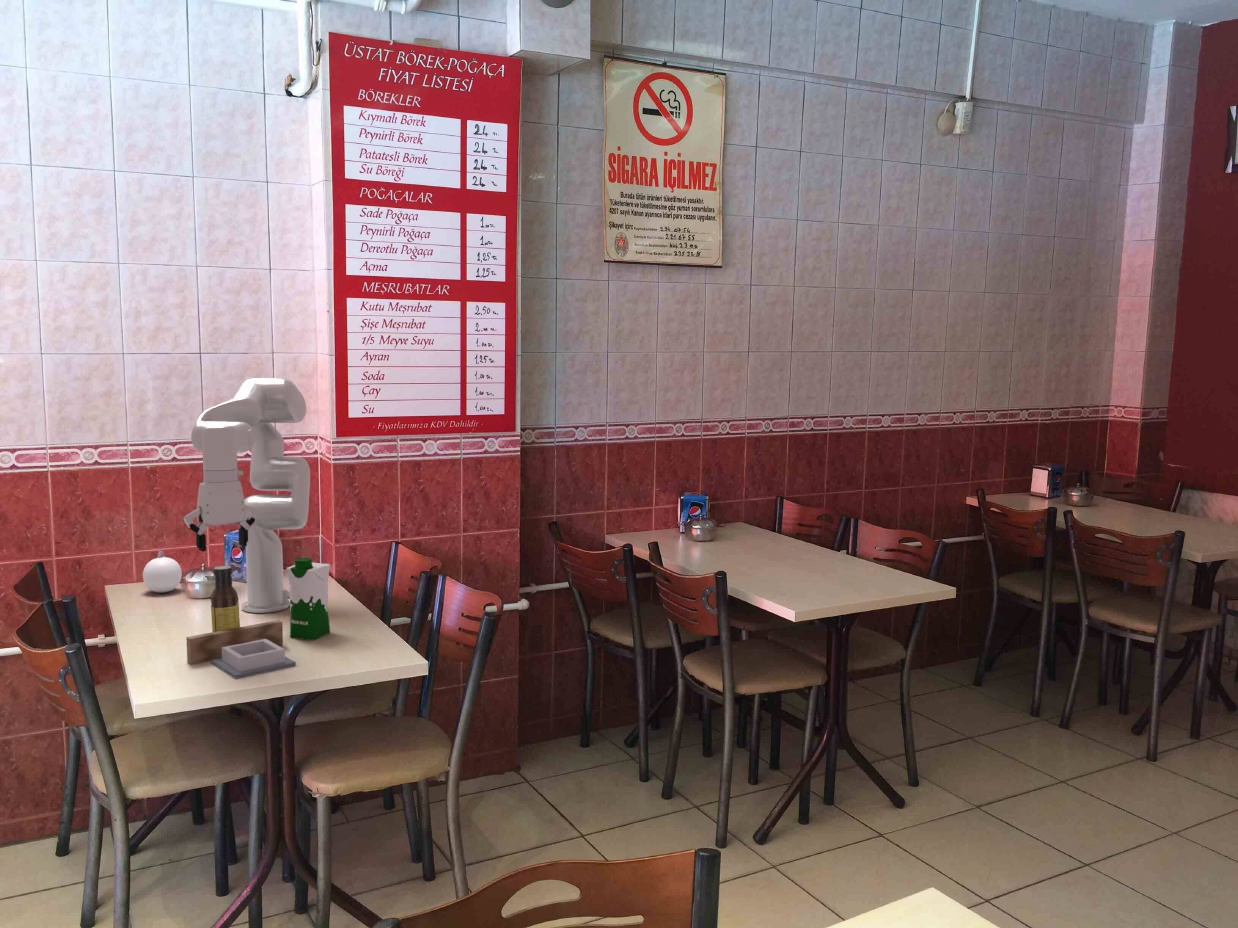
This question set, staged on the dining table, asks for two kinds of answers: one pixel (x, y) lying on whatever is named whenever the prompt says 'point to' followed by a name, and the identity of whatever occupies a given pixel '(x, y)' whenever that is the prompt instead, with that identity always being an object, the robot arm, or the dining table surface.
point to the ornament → (162, 574)
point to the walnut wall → (231, 640)
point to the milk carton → (308, 599)
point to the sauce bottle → (224, 601)
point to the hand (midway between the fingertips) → (222, 548)
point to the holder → (252, 658)
